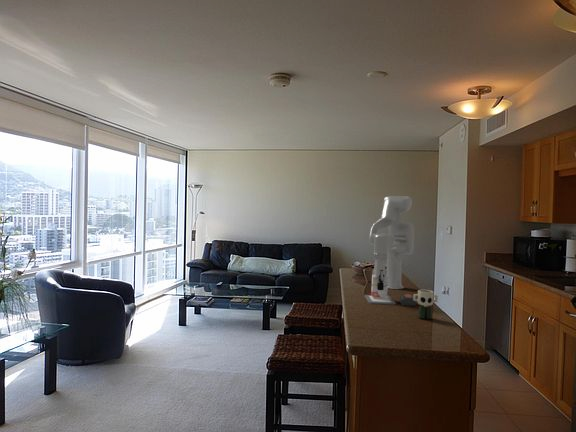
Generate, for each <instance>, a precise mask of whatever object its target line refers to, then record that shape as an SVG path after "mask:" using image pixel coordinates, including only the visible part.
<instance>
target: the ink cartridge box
mask: <svg viewBox="0 0 576 432" xmlns="http://www.w3.org/2000/svg"><path fill="white" fill-rule="evenodd" d="M379 277H381V276H379ZM380 279H381V278H379V280H380ZM383 281H384V287H383V290H378V289H377V287H378V277H376V276H375V275H374V269H372V274H371V291H370V293H371V294H370V295H372V297H385V298H387V296H388V290H389V288H388V276H387V269H385V277H384V278H383Z"/></svg>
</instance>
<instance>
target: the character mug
mask: <svg viewBox="0 0 576 432" xmlns="http://www.w3.org/2000/svg"><path fill="white" fill-rule="evenodd" d="M413 297H414V299H413V300H414V301H416V302H417V304H418V305H419V307H418V312H417V317H418V318H420V319H427V320H430V319H432V317H433V316H432V307H431V306H432V305H434V303H437V302H438V300H439V299H438V295H437V294H436V295H435V294H434V291H433V290H429V289H418V290H417V293H415V294H414V293H413ZM416 297H417V298H416Z"/></svg>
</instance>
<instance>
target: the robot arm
mask: <svg viewBox="0 0 576 432" xmlns="http://www.w3.org/2000/svg"><path fill="white" fill-rule="evenodd" d="M412 205H413V199H412V198H411V196H407V195H405V196H404V195H403V196H402V195H387V196H385V197H384V198H383V207H382V209H381V211H382V212H381V216H380V218H379V219H378V220H377V221H375V223H373V224H372V226H371V228H370V232H369V236H368V244H369V245H370V246H372V247H373V260H374V265H373V267H374V268H373V270H374V275H375V276H376V277H378V287H377V289H378V290H383V287H384V281H383V278H384V277H385V270H387V276H388V289H391V290H403V289H404V286H403V285H402V270H403V268H402V266H403V260H402V258H401V257H400V255H412V254H413V253H414V251H415V250H414V249H415V227H414V224H413V223H411V222H403V214H402V213H407V212H409V211H410V209H411V208H412ZM387 227H388V233H381V232H379V230H382V229H384V228H387ZM398 238H399V239H398ZM400 238H405V239H400ZM379 276H381V277H379ZM379 278H381V279H380V280H379Z"/></svg>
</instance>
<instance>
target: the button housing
mask: <svg viewBox="0 0 576 432" xmlns="http://www.w3.org/2000/svg"><path fill="white" fill-rule="evenodd" d="M413 299H414V295H411V298H404V295H400V296H399V303H400V304H401V305H402V306H413V307H414V306H415V307H416V305H417V301H414V300H413Z"/></svg>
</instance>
